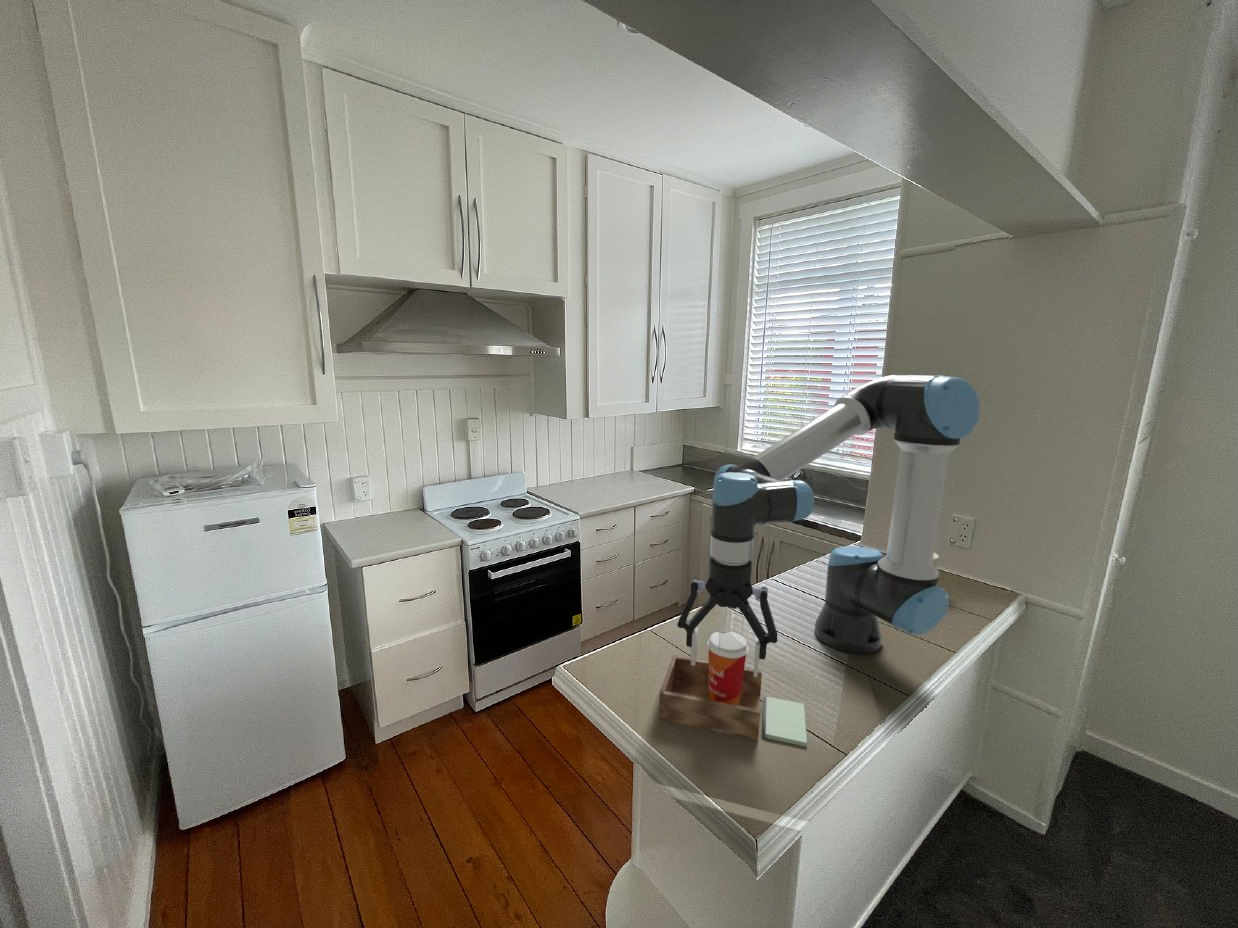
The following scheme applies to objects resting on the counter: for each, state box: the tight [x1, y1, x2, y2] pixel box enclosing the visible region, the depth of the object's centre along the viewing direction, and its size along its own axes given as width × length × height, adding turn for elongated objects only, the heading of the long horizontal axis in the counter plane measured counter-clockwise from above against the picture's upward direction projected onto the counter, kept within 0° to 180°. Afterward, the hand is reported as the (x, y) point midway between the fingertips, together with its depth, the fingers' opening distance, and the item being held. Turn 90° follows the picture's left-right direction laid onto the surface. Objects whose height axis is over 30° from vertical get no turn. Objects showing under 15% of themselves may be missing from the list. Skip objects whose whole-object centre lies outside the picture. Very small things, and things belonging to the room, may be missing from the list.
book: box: [761, 696, 808, 748], centre depth 95 cm, size 2×11×8 cm
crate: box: [658, 654, 763, 741], centre depth 98 cm, size 18×13×6 cm
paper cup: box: [706, 631, 750, 706], centre depth 96 cm, size 8×8×14 cm
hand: (724, 667), depth 96 cm, fingers open, 11 cm apart
